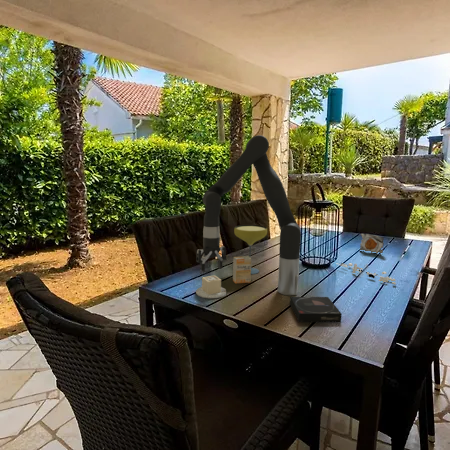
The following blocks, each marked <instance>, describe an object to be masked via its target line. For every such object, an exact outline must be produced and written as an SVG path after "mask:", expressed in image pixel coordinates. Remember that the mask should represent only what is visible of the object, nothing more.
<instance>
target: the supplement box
mask: <svg viewBox="0 0 450 450" xmlns="http://www.w3.org/2000/svg"><path fill="white" fill-rule="evenodd" d="M232 261H233V264H232V267H233V268H232V282H233V283H234V284H235V285H236V284H245V283H249V284H250V283H251V279H252V278H251V277H252V276H251V275H252V274H251V268H252V258H250V257H249V255H246V256H245V255H244V256H243V255H242V256H233V260H232Z"/></svg>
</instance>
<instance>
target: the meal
mask: <svg viewBox="0 0 450 450" xmlns="http://www.w3.org/2000/svg"><path fill="white" fill-rule="evenodd" d="M360 236H361V238H362V239H360V241H361V242H360V244H359V245H360V247H359V248H360V249H359V251H360V250H365V251H371V252H376V253H378V252H380V253H383V251H384V246H385V242H384V236H380V235H375V234H370V233H360Z"/></svg>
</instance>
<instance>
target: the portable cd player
mask: <svg viewBox="0 0 450 450" xmlns="http://www.w3.org/2000/svg"><path fill="white" fill-rule="evenodd" d="M289 305H290V308H291V310H292V311H293V313H294V315H295V317H296V319H297V321H298V323H342V313H341V311H340V309H338V307H337V306H336V305H335V304H334V303H333V301H332V300H331V299H330V298H329V296H290V298H289Z"/></svg>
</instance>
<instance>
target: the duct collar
mask: <svg viewBox="0 0 450 450" xmlns="http://www.w3.org/2000/svg"><path fill="white" fill-rule="evenodd" d="M209 277H214V278H216V279H217V280H213V281H208V280H207V279H206V278H209ZM201 287H202V290H203V291H205V292H206V293H207V294H213V293H218V292H221V287H222V279H221V278H219V277H218V276H217V275H215V274H214V275H209V276H204V277H202V278H201Z"/></svg>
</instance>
